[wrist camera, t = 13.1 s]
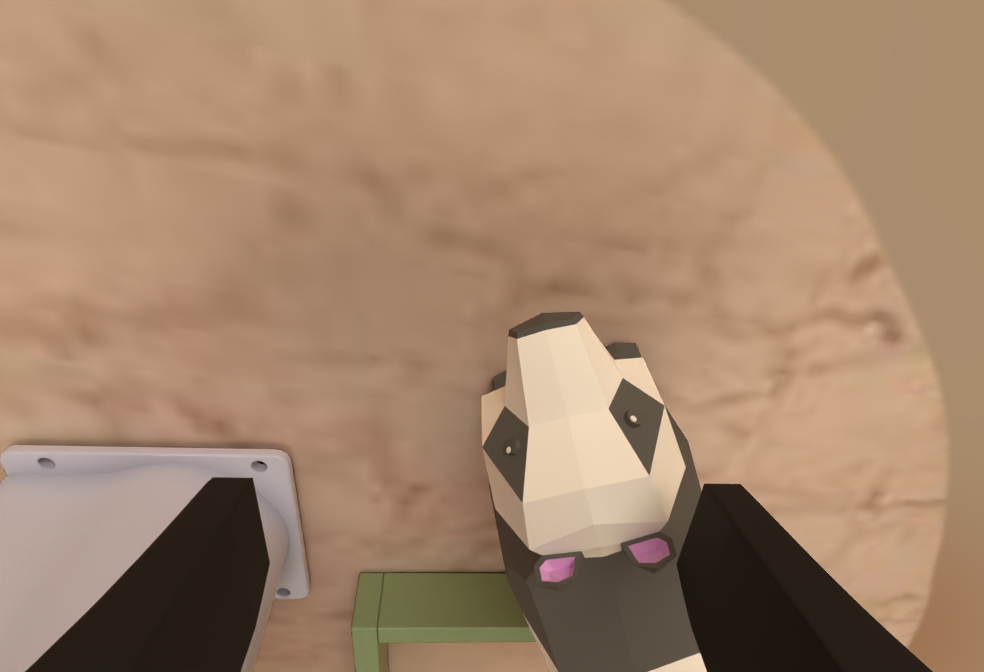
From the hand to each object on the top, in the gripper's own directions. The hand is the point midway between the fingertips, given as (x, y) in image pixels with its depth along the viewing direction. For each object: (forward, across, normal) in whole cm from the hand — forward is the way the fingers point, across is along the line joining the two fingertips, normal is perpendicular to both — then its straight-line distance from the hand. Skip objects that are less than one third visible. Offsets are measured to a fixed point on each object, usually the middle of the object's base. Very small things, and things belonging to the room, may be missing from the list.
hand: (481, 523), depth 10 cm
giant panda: (+9, -4, +6) cm, 12 cm away
